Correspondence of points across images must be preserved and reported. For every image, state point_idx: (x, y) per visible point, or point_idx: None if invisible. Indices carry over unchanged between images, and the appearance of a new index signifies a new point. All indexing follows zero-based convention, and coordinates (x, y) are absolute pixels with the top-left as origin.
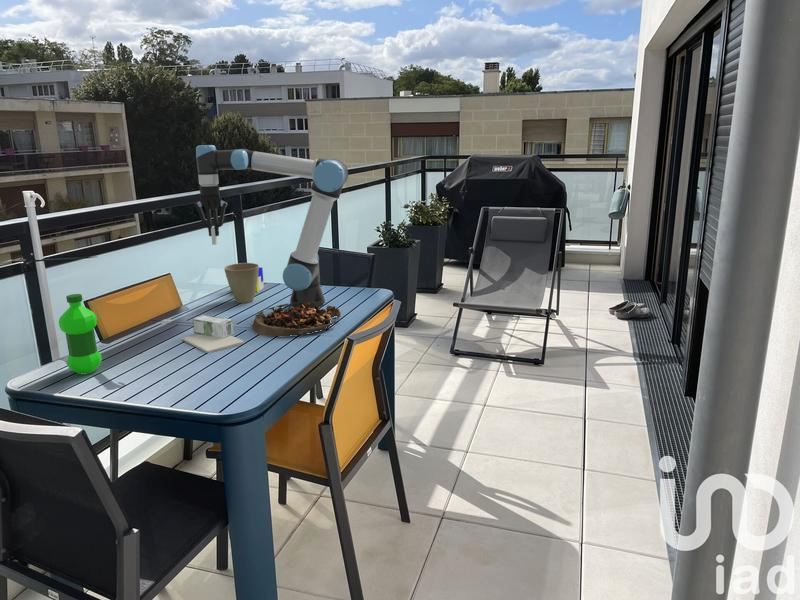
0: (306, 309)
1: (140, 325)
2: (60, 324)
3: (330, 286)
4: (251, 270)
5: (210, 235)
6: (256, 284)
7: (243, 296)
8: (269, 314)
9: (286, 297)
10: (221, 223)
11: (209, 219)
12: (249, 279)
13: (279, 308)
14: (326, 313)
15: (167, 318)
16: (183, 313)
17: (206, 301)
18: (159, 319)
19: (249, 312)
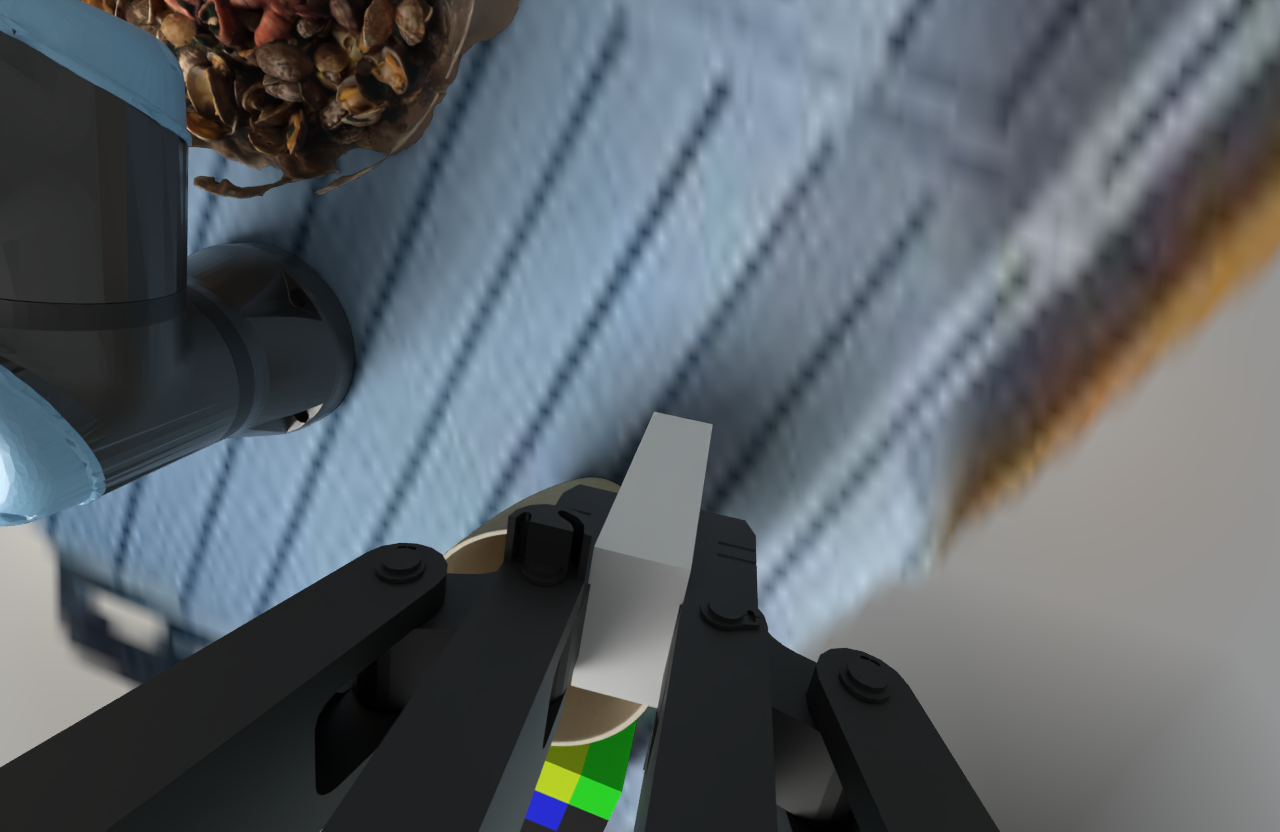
0: (197, 36)
1: (1252, 170)
2: None
3: (206, 624)
4: (463, 539)
5: (722, 524)
6: (492, 537)
7: (588, 481)
8: (411, 7)
9: (389, 507)
10: (329, 583)
11: (671, 810)
12: (508, 509)
13: (357, 114)
14: (111, 12)
15: (1053, 290)
16: (945, 374)
17: (802, 580)
18: (1107, 283)
19: (562, 271)
